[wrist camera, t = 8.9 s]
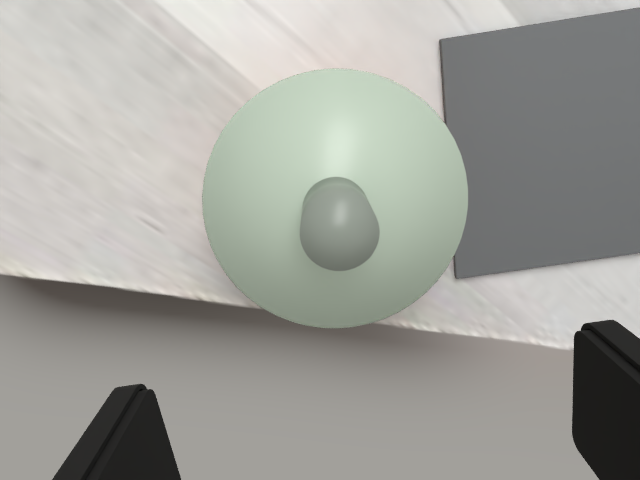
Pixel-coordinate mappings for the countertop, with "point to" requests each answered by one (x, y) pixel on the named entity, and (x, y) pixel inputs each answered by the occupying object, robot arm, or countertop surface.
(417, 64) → the countertop surface
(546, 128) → the mat
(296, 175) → the lid
